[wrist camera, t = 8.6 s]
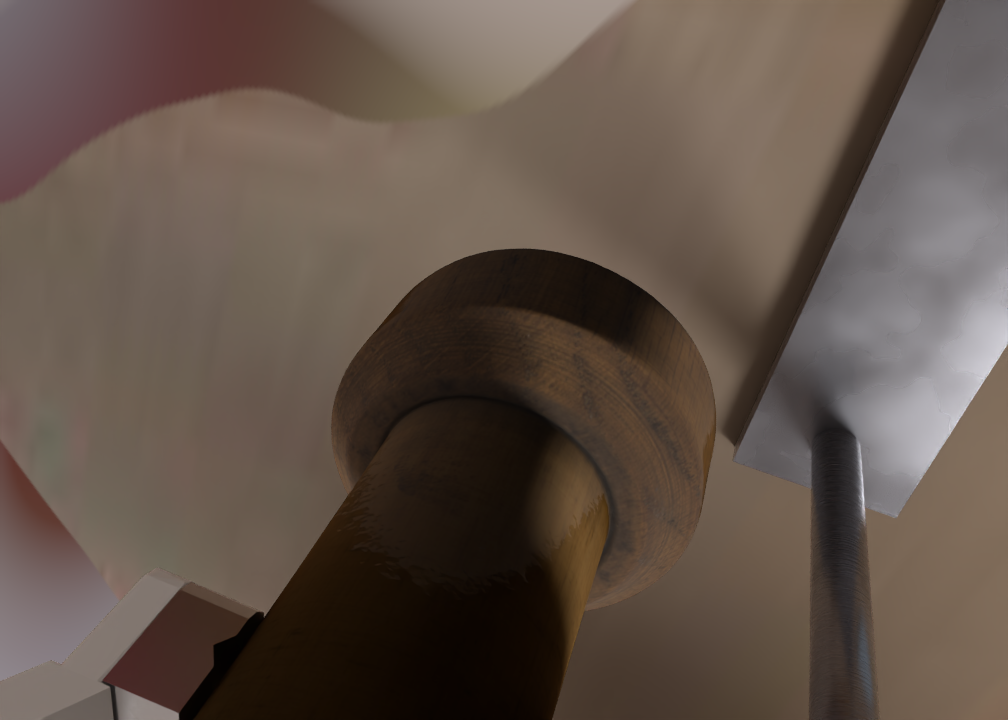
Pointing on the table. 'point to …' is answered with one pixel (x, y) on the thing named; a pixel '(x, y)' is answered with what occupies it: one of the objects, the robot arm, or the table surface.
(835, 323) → the retort stand
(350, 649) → the wooden turned spindle
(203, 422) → the table surface
